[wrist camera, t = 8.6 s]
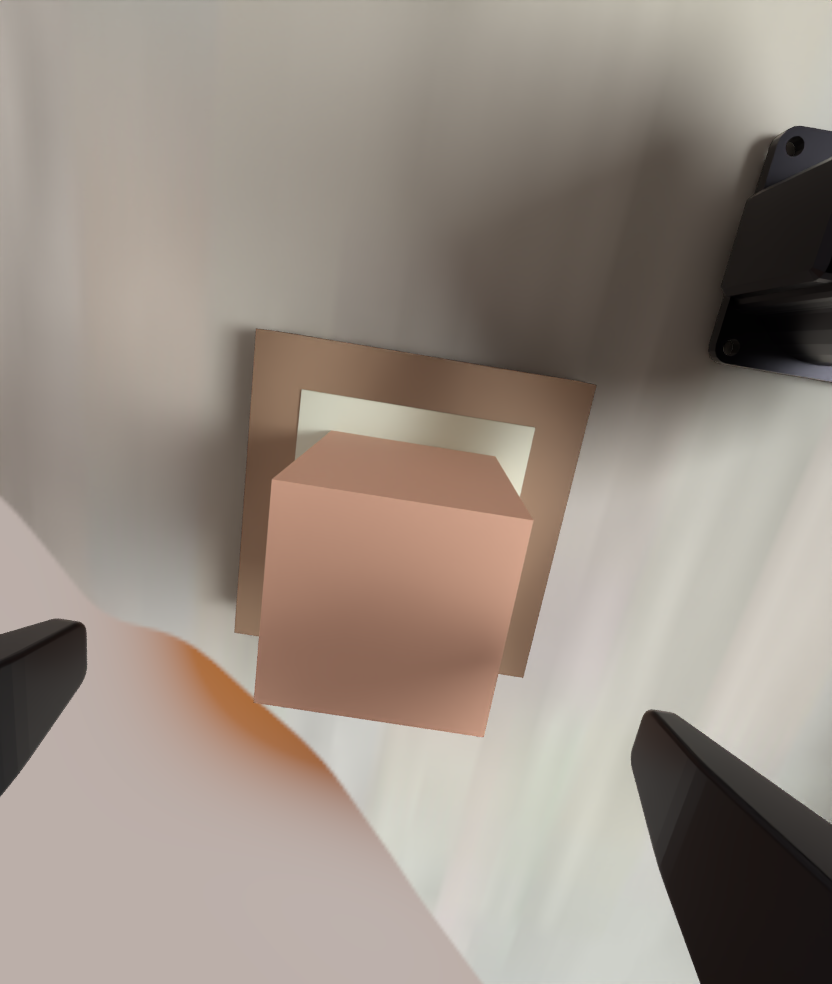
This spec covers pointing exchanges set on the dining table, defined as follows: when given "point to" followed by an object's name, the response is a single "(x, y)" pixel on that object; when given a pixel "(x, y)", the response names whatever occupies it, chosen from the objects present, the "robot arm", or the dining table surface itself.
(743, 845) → the robot arm
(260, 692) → the terracotta block
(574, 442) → the walnut plinth
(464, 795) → the dining table surface
